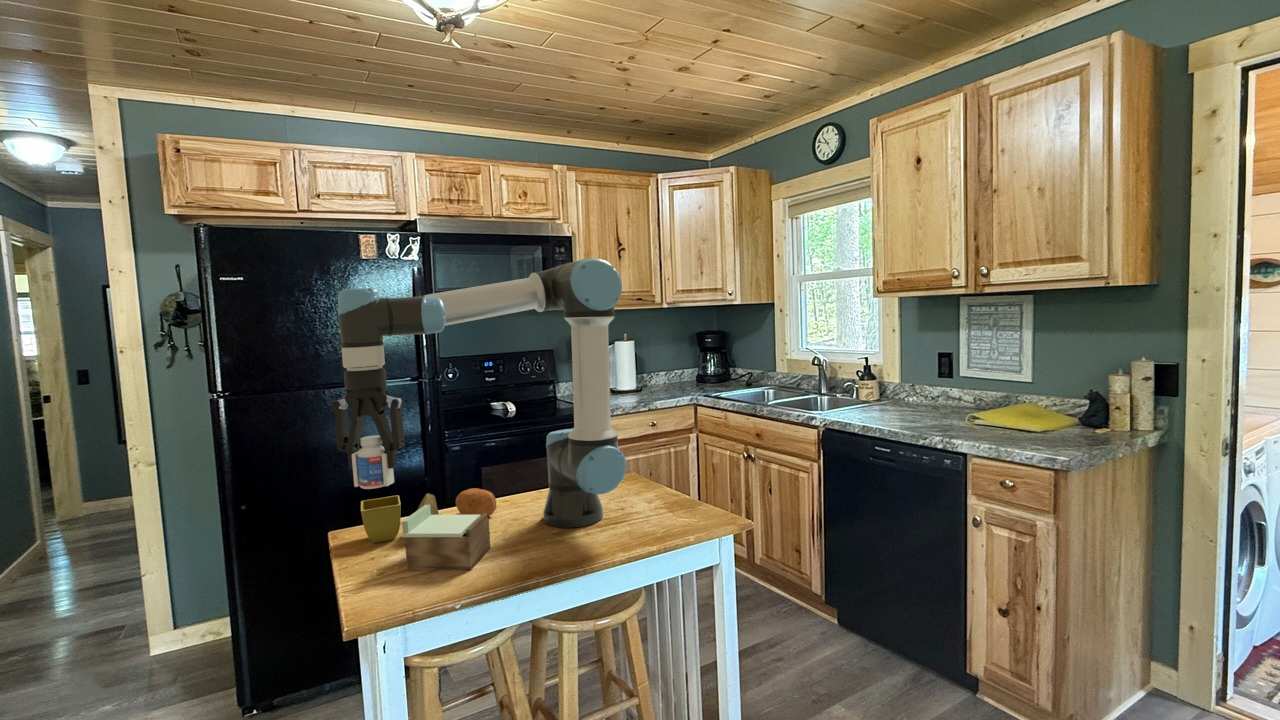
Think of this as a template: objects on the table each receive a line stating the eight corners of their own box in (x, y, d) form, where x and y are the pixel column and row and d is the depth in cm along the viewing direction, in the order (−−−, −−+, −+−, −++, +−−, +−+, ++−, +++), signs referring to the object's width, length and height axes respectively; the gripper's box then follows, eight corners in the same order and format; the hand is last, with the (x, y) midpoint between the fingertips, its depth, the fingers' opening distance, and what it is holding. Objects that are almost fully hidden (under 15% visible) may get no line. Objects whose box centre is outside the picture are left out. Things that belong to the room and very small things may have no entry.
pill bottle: (371, 491, 121) (367, 441, 120) (354, 487, 124) (349, 439, 123) (395, 483, 126) (391, 435, 125) (378, 480, 129) (374, 433, 128)
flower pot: (363, 548, 147) (360, 510, 146) (363, 536, 155) (360, 500, 154) (403, 541, 150) (400, 504, 150) (401, 529, 158) (399, 494, 158)
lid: (480, 518, 143) (479, 503, 143) (460, 537, 131) (459, 521, 131) (427, 518, 144) (426, 504, 144) (402, 537, 133) (401, 522, 132)
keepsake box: (490, 548, 144) (488, 512, 143) (471, 570, 132) (468, 531, 131) (431, 548, 145) (429, 512, 144) (407, 569, 133) (404, 531, 132)
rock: (451, 531, 149) (453, 513, 158) (425, 507, 146) (429, 490, 156) (415, 561, 148) (419, 541, 158) (388, 537, 146) (395, 518, 155)
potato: (468, 525, 159) (466, 496, 159) (449, 515, 168) (447, 488, 167) (500, 516, 165) (499, 488, 165) (481, 507, 174) (479, 480, 173)
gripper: (418, 364, 126) (427, 478, 128) (330, 367, 127) (340, 479, 129) (401, 368, 118) (410, 489, 120) (308, 371, 120) (319, 490, 122)
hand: (374, 484), depth 125 cm, fingers closed on pill bottle, 5 cm apart
